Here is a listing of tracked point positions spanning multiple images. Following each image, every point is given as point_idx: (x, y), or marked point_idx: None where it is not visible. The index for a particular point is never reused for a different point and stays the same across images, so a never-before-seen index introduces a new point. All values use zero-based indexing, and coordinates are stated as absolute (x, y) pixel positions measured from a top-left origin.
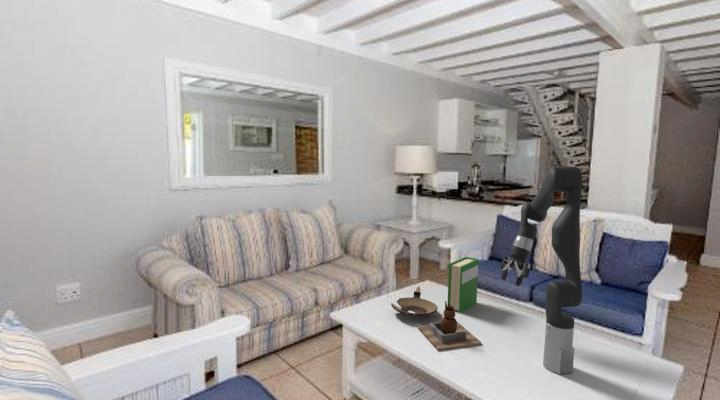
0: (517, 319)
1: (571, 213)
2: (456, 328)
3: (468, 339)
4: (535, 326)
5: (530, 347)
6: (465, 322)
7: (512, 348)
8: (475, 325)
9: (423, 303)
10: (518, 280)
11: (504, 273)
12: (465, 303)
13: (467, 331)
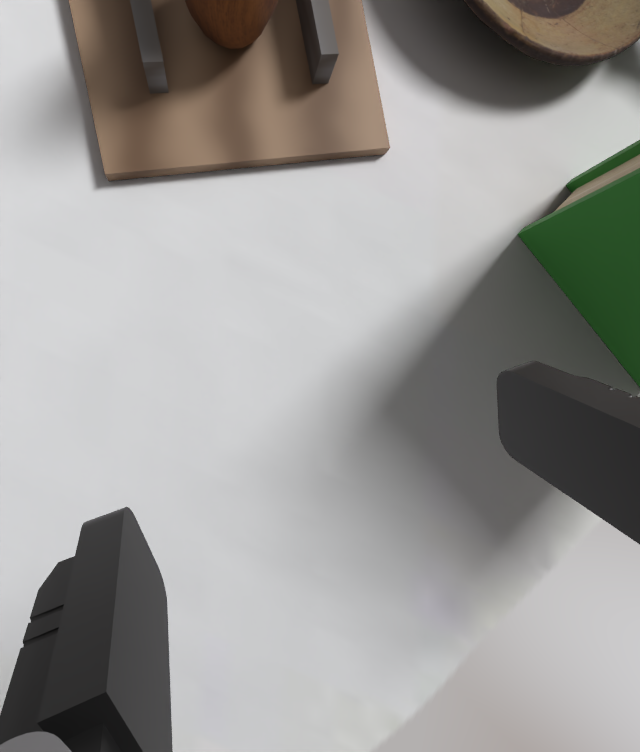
0: (424, 553)
1: None
2: (207, 20)
3: (149, 109)
4: (328, 629)
5: (51, 476)
6: (400, 212)
7: (46, 354)
8: (359, 256)
9: (613, 19)
10: (63, 636)
11: (610, 438)
12: (588, 268)
13: (257, 151)
